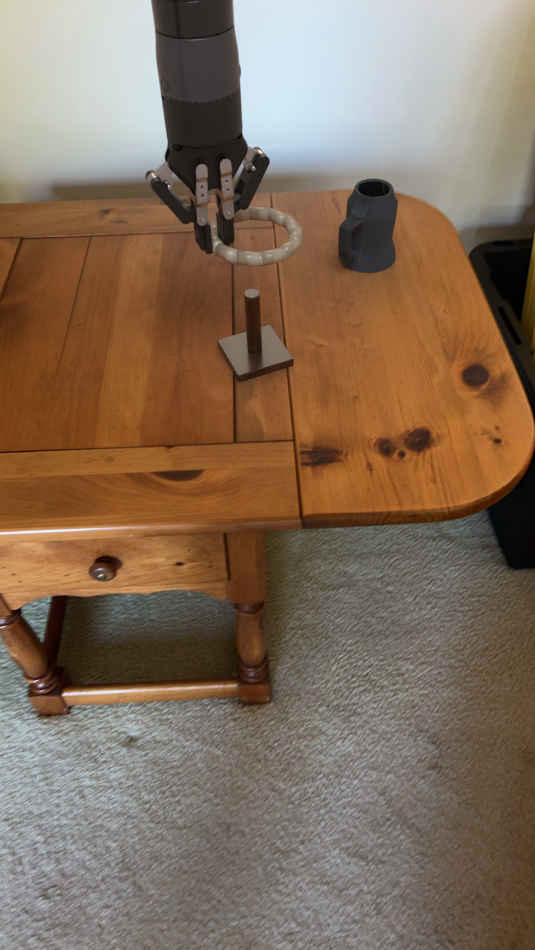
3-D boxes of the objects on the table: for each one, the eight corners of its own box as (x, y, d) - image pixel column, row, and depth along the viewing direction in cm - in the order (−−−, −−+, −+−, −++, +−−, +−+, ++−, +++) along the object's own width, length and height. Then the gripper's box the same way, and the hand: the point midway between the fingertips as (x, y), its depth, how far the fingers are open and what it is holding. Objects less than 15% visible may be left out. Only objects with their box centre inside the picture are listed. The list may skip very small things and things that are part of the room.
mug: (358, 234, 109) (364, 166, 100) (406, 252, 105) (417, 184, 96) (316, 268, 103) (318, 199, 94) (365, 288, 99) (372, 219, 91)
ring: (226, 277, 72) (226, 265, 70) (194, 227, 78) (193, 215, 77) (318, 256, 74) (319, 244, 73) (279, 209, 81) (279, 197, 80)
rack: (238, 382, 87) (233, 319, 79) (217, 346, 92) (211, 284, 84) (293, 365, 89) (294, 302, 81) (270, 331, 94) (268, 268, 86)
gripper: (253, 55, 65) (259, 218, 79) (118, 80, 62) (148, 245, 75) (283, 82, 61) (284, 251, 74) (140, 110, 58) (168, 281, 71)
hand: (215, 247), depth 75 cm, fingers closed on ring, 1 cm apart
